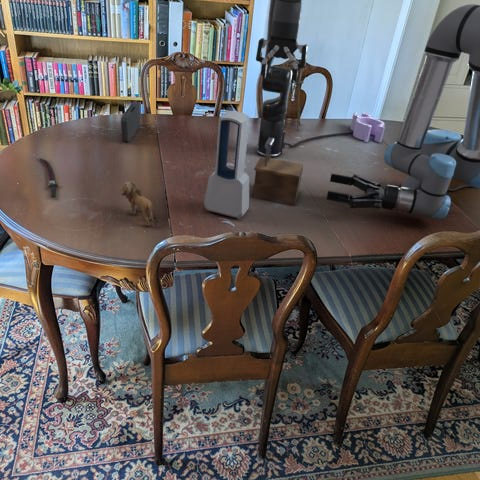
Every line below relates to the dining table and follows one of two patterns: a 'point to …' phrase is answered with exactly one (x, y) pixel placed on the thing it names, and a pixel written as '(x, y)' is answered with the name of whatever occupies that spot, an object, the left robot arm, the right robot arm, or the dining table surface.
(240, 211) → the electronic device
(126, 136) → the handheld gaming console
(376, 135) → the clip
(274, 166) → the lid
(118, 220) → the dining table surface
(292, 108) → the miniature windmill
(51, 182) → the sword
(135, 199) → the lion figurine
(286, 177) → the chest
